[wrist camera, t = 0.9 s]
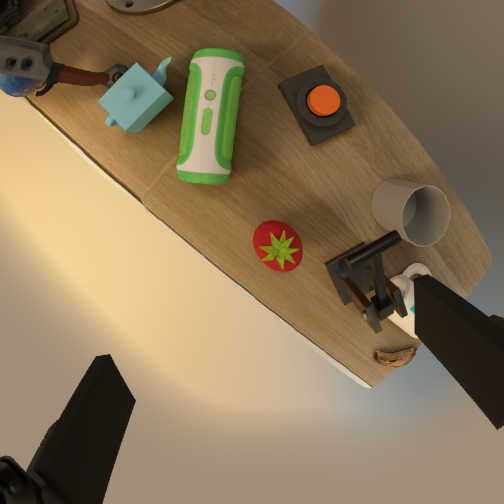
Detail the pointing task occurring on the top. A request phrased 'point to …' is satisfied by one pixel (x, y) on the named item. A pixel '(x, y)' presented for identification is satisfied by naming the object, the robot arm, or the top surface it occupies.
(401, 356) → the oyster shell
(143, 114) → the teapot
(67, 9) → the tank diorama
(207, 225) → the top surface
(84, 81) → the knife
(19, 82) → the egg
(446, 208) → the cup
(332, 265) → the bracket
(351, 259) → the lever
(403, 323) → the white handled jug
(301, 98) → the control block
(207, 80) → the speaker
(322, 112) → the button
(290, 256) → the strawberry
